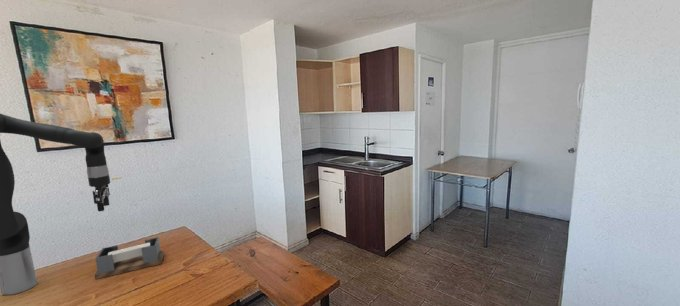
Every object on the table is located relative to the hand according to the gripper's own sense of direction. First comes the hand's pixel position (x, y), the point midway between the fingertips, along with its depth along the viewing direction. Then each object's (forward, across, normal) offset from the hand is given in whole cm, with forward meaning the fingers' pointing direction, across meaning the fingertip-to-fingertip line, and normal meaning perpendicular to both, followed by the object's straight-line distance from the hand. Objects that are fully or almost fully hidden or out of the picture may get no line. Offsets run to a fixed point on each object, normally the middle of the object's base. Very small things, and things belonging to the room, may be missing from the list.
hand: (104, 208), depth 130 cm
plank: (+28, +8, +9) cm, 31 cm away
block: (+24, +8, +9) cm, 26 cm away
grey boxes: (+26, +8, +9) cm, 29 cm away
